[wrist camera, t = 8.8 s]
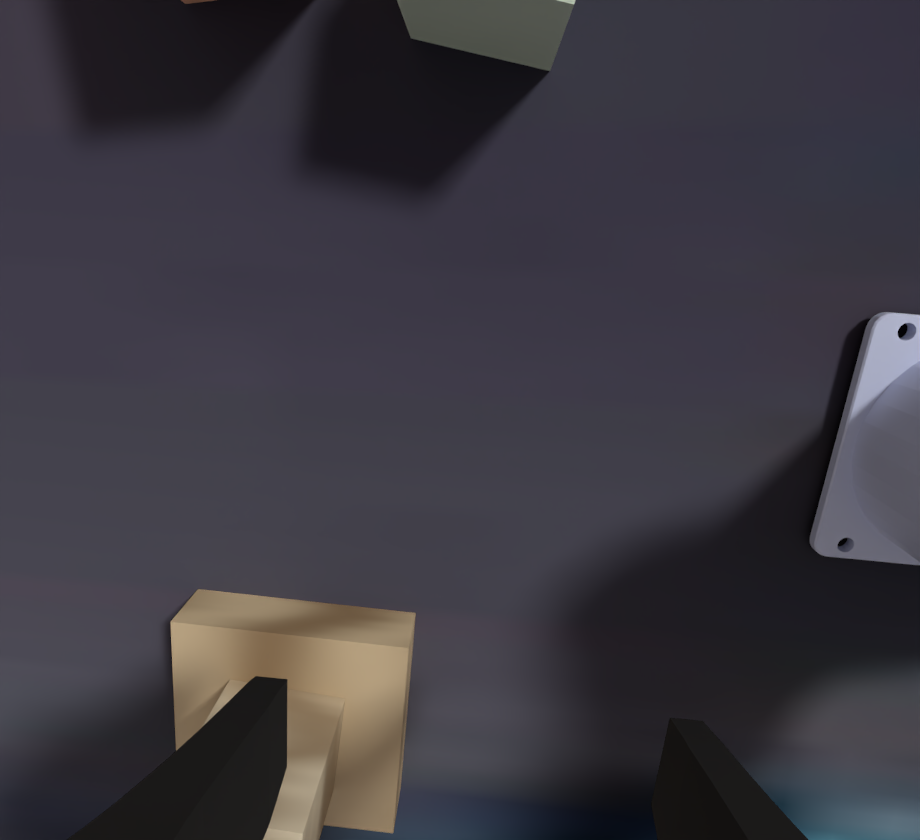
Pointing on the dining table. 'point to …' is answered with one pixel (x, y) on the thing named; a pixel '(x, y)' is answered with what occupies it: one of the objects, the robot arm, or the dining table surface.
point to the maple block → (303, 762)
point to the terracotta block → (194, 1)
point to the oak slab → (307, 681)
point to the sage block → (492, 27)
